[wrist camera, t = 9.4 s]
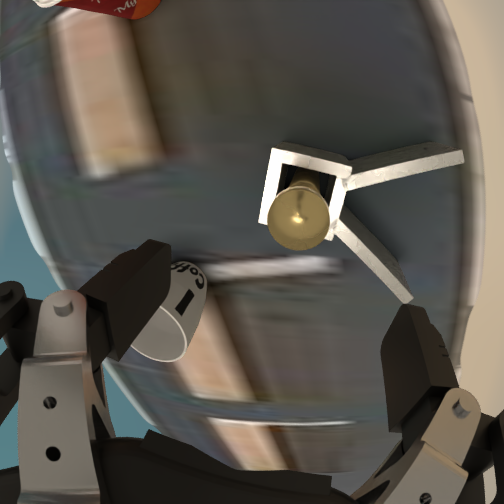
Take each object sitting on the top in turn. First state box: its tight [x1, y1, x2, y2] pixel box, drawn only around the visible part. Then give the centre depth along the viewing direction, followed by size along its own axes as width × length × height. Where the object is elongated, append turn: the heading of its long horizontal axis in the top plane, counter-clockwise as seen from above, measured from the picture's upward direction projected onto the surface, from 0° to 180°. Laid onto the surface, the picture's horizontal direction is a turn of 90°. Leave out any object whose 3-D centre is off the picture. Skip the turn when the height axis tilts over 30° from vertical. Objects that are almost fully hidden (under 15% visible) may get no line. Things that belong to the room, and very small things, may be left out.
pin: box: [267, 167, 330, 250], centre depth 22 cm, size 3×3×13 cm
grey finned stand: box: [258, 141, 464, 304], centre depth 24 cm, size 14×14×7 cm
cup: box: [131, 261, 207, 362], centre depth 31 cm, size 8×8×10 cm
